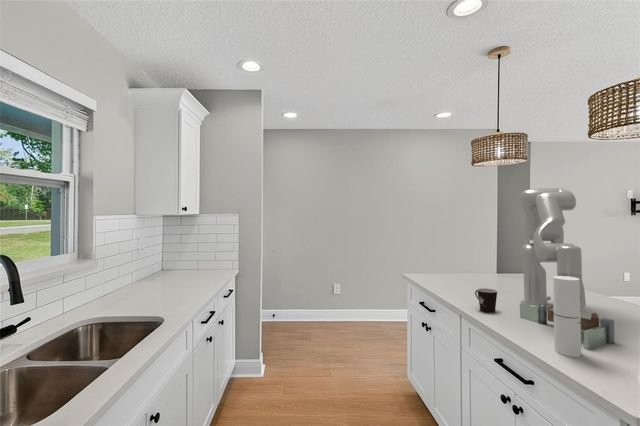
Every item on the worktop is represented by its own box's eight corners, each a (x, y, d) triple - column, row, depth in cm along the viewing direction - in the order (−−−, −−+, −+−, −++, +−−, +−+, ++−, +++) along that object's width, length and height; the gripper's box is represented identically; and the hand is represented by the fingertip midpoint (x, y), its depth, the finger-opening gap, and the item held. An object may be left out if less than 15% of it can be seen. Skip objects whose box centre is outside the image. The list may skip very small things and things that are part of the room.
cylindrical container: (549, 348, 112) (547, 276, 112) (568, 347, 113) (566, 275, 113) (566, 357, 105) (565, 280, 105) (587, 356, 106) (585, 279, 106)
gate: (547, 324, 135) (546, 302, 135) (550, 323, 135) (549, 302, 136) (596, 338, 119) (596, 314, 119) (599, 337, 120) (599, 313, 120)
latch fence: (604, 339, 119) (604, 318, 119) (614, 342, 116) (613, 320, 116) (581, 347, 112) (581, 324, 112) (591, 350, 110) (590, 326, 110)
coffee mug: (500, 314, 151) (499, 292, 151) (480, 313, 152) (480, 292, 152) (492, 307, 162) (491, 287, 162) (473, 306, 164) (473, 286, 164)
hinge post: (522, 316, 146) (522, 299, 146) (548, 324, 136) (548, 305, 136) (518, 317, 145) (518, 299, 145) (544, 325, 135) (544, 305, 135)
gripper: (566, 281, 117) (568, 332, 117) (593, 278, 122) (594, 326, 122) (546, 277, 124) (547, 325, 124) (571, 274, 129) (572, 320, 129)
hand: (570, 326), depth 123 cm, fingers closed
